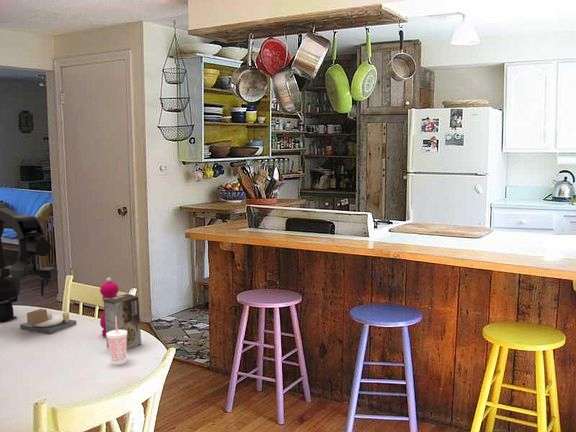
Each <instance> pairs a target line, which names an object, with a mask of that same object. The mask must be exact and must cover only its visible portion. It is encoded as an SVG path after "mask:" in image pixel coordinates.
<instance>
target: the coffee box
mask: <svg viewBox="0 0 576 432" xmlns="http://www.w3.org/2000/svg"><path fill="white" fill-rule="evenodd" d="M104 307H105V322H106V333H107V332H109V331H112V330H116V324H115V316H117V330H126V331H127V350H128V349H130V348H133V347H136V346H139V344H140V345H142V336H141V335H142V334H141V319H140V304H139V296H136V295H133V294H130V293H125V294H120V295H117V296H116V297H113V298H109V299H105V300H104V302H103V308H104ZM106 336H107V335H106ZM106 348H107V349H109V346H108V338H107V337H106Z"/></svg>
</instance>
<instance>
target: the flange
mask: <svg viewBox="0 0 576 432" xmlns="http://www.w3.org/2000/svg"><path fill="white" fill-rule="evenodd" d="M26 322H27V324H29V325H33V326H36V327H48V326H54V325H58V324H61V323H63V314H58V313H56V314H55V313H54V314H53V312H52V311H48V310H47V309H45V308H39V309H36V310H31V311H29V312H27V313H26Z"/></svg>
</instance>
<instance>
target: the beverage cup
mask: <svg viewBox="0 0 576 432" xmlns="http://www.w3.org/2000/svg"><path fill="white" fill-rule="evenodd" d="M115 324H116V330H112V331H109V332H107V333H106V335H107V336H106V337H105V338H106V339H107V338H108V346H109V348H108V353H109V361H110V364H111V365H122V364H124V363H126V362H127V350H128V349H127V331H126V330H117V316H115Z"/></svg>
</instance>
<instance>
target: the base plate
mask: <svg viewBox="0 0 576 432" xmlns="http://www.w3.org/2000/svg"><path fill="white" fill-rule="evenodd" d="M76 325H77V320H74V319H70V318H69V323H68V324H64V323H61V324H58V325H54V326H48V327H36V326H33V325H29V324H27V321H26V322H24V323H21V324H19V329H20V330H24V331H29V332H34V333H39V334H40V333H41V334H46V335H53V334H55V333H57V332H60V331H63V330H66V329H69V328H71V327H74V326H76Z"/></svg>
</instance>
